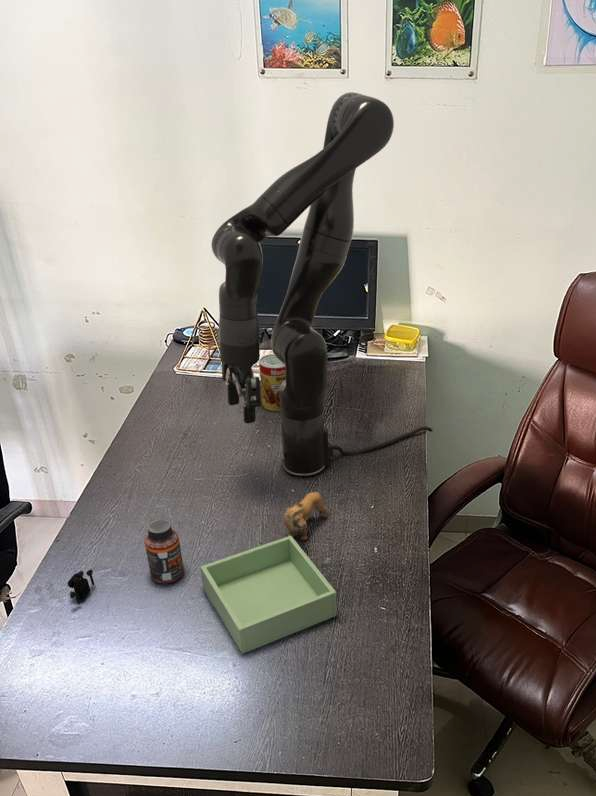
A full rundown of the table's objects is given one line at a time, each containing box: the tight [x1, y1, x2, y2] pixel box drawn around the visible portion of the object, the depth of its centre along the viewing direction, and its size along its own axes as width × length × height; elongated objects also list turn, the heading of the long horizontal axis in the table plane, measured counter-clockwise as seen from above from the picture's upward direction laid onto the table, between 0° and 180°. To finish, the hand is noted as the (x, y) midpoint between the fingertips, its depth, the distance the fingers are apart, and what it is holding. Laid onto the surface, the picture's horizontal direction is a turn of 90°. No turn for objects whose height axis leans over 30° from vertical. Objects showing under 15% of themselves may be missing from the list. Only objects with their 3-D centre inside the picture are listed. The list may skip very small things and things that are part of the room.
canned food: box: [258, 353, 286, 412], centre depth 186 cm, size 8×8×12 cm
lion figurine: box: [283, 491, 328, 541], centre depth 146 cm, size 15×5×9 cm, turn 163°
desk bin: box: [200, 535, 337, 655], centre depth 130 cm, size 18×18×6 cm
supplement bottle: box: [143, 518, 185, 584], centre depth 133 cm, size 6×6×11 cm
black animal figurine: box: [67, 569, 95, 605], centre depth 130 cm, size 7×2×5 cm, turn 168°
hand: (241, 413), depth 150 cm, fingers open, 8 cm apart
